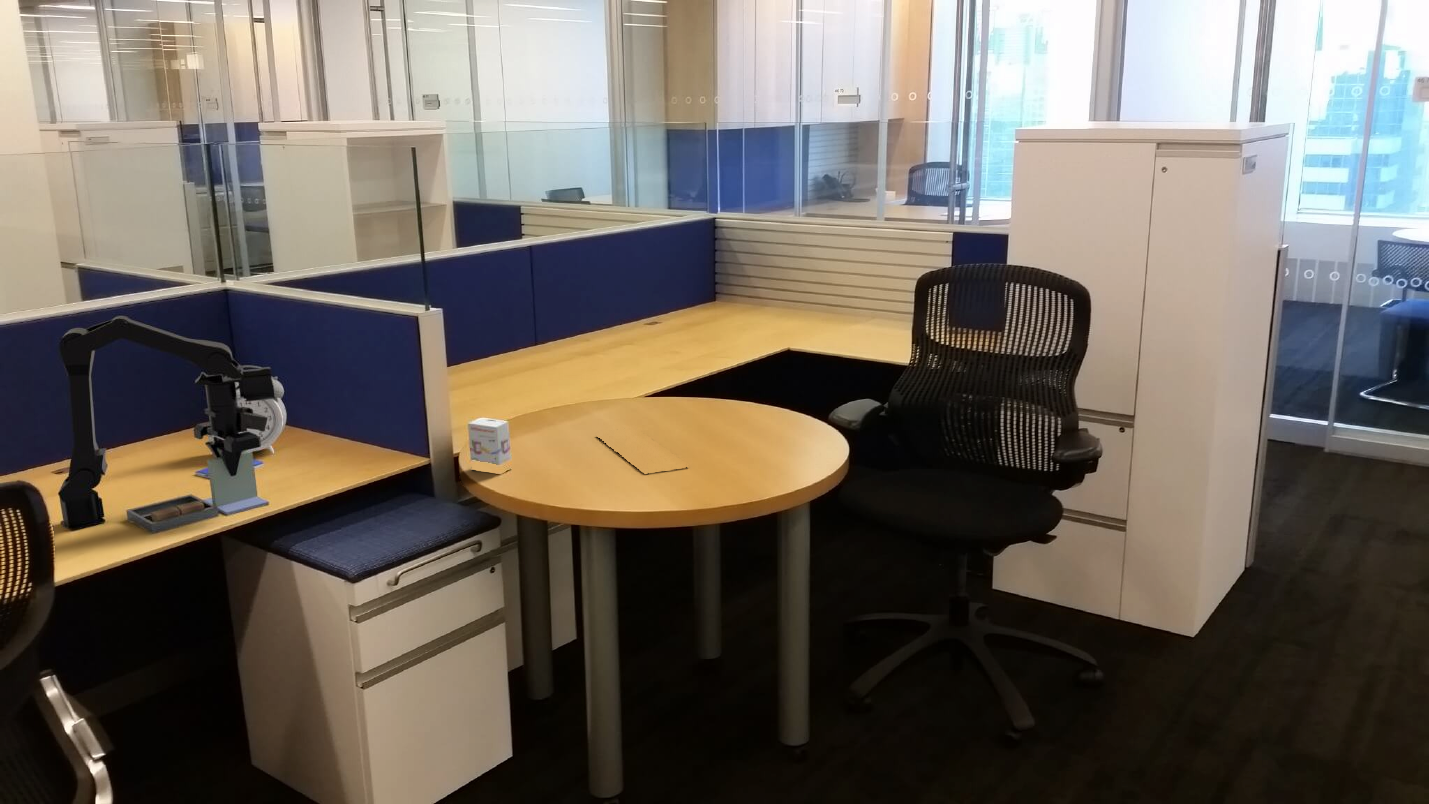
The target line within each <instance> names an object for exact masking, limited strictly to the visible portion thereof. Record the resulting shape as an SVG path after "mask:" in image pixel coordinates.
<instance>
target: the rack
mask: <svg viewBox="0 0 1429 804" xmlns="http://www.w3.org/2000/svg"><path fill="white" fill-rule="evenodd" d="M195 501H200V502H201V503H203V504H204V509H202V510H198V511H194V512H190V513H186V514H182V515H179V516H175V517H171V518H167V519H163V520H159V521H155V522H152V517H151V512H155V511H159V510H163V509H166V508H170V507H174V508H176V509H177V507H176V506H177V505H182V504H186V503H191V502H195ZM125 511H126V518H127V519H126V520H128V521H129V522H131V523H133V524H135V525H136V526H138V527H140V528H141V529H144V530H146V531H147V532H148V533H151V534H157V533H160V532H166V531H168V530H172V529H175V528H179V527H183V526H187V525H190V524H191V525H192V524H195V523H198V522H201V521H206V520H208V519H209V520H210V519H213V518H216V517H217V518H218V517H219V516H220V515H219V511H218V507H216V506H214V505H212V504H210V503H208V502H206V501H204V499H202V498H200V497H198V496H196V495H194V494H191V493H190V494H186V495H183V496H178V497H174V498H171V499H166V500H163V501H158V502H154V503H150V504H146V505H141V506H138V507H134V508H130V509H126V510H125Z"/></svg>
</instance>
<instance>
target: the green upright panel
mask: <svg viewBox="0 0 1429 804" xmlns="http://www.w3.org/2000/svg"><path fill="white" fill-rule="evenodd" d="M253 454H254V453H253V452H251V451H242V453H241V456H240V460H239V465H238V469H237V474H236V475H235V476H230V474H229V472H228V470H227V468H226V466H225V464H224V462H223V460H222V458H221V457H219V458H215V457H214V458H211V459H207V461H206V463H207V468H208V471H209V478H208V479H209V485H210V486H209V487H210V493H211V494H210V495H211V498H212V502H213V505H214V506H216V507H218V506H222V505H226V504H230V503H234V502H237V501H241V500H245V499H249V498H253V497H259V496H258V489H257V480H256V472H255V469H254V461H253V460H254V455H253Z"/></svg>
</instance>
